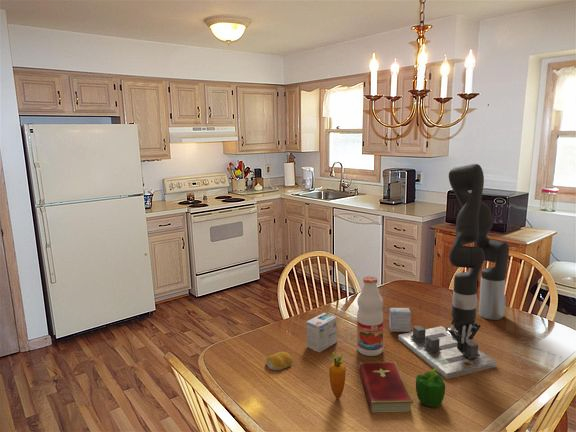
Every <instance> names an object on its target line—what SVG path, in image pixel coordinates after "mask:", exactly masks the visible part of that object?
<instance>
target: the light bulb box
mask: <svg viewBox="0 0 576 432" xmlns="http://www.w3.org/2000/svg"><path fill="white" fill-rule="evenodd" d="M305 323H306V347H307V348H308V349H311V350H312V351H315V352H316V353H321V352H323V351H325V350H326V349H328V348H330V347H331V346H333V345H335V344H336V343H337V342H338V333H337V332H338V325H337V316H335V315H332V314H329V313H327V312H322V313H321V314H318V315H316V316H315V317H312V318H311V319H310V318H309V319H308V320H306V321H305Z"/></svg>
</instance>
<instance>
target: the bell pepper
mask: <svg viewBox="0 0 576 432" xmlns="http://www.w3.org/2000/svg"><path fill="white" fill-rule="evenodd" d="M436 372H437V369H435V368H434V369H433V368H432V369H431V371H426V372H424V373H423V374H417V376H416V379H415V393H416V395H417V399H418V400H419V402H420V403H421V404H422V405H424V406H428V407H430V408H432V409H434V408H438V407H440V406H441V404H442V403H443V401H444V398H445V394H446V384H445V381H444V380H443V376H442V375H441V374H437V373H436Z"/></svg>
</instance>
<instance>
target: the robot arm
mask: <svg viewBox="0 0 576 432" xmlns="http://www.w3.org/2000/svg"><path fill="white" fill-rule="evenodd" d="M448 180H449V185H450V187H451V189H452V191H453V193H454V195H455V196H456V198H457V201H458V202H459V204H460V206H461V209H460V210H459V211H458V214H457V216H456V221H455V222H456V223H455V237H454V241H453V245H452V247H451V249H450V251H449V256H448V259H449V260H448V261H449V262H450V264H451V265H452V266H453V267H456V268H468V269H470V270H468V271H463V272H457V273H456V274H455V275H454V277H453V291H452V292H453V293H452V300H451V303H452V304H451V317H452V320H451V325H450V326H449V327H448V326H447V327H446V329H445V330H446V331H447V333H448V334H449V335H450V336H451V338H452V339H453V340H455V341H456V342H457V349H458V350H459V351H460V352H461V353H463V352H466V350H467V342H468V341H470V340H471V341H472V340H473V339H474V337H476V334H477V333H478V331H479V330H480V328H481V324H480V323H477V322H476V318H477V306H478V316H480V317H482V318H484V319H487V320H492V321H493V320H494V321H496V320H497V321H498V320H502V319H503V318H504V317H505V314H506V301H507V300H506V299H507V295H506V294H505V290H506V289H505V287H506V275H507V271H508V261H509V256H510V246H509V244H508V243H507V242H506V241H501V240H495V239H490V238H489V237H488V236H487V234H489V232H490V231H491V229H492V228H493V226H494V217H493V213H492V212H491V208H490V207H489V206H488V205H487V203H485V202H484V201H482V198H483V193H484V192H483V191H484V184H485V177H484V171H483V169H482V167H481V165H480V164H478V163H472V164H466V165H461V166H456V167H453V168H451V169H449V173H448ZM470 191H471V192H470ZM473 243H475V246H470V245H469V246H466V245H468V244H473ZM485 262H490V263H493V264H494V266H493V267H485V268H483V269H482V267H483V265H484V263H485ZM480 272H481V273H480ZM479 275H480V285H479V286H480V288H479V304H478V297H477V295H478V294H477V292H478V291H477V290H478V279H479ZM477 304H478V305H477Z"/></svg>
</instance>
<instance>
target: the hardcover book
mask: <svg viewBox="0 0 576 432" xmlns="http://www.w3.org/2000/svg"><path fill="white" fill-rule="evenodd" d="M358 369H359V373H360V378H361V381H362V384H363V388H364V392H365V395H366V400H367V402H368V407H369V410H370V413H371V414H373V413H403V412H405V413H407V412H410V413H411V411H412V404H413V403H414V401H413V399H412V396H411V394H410V392H409V390H408V388H407V386H406V385H407V384H406V383H405V381H404V379H403V377H402V374H401V372H400V370H399V367H398V365H397V362H396V361H368V362H367V361H364V362H362V361H361V362H359V366H358Z"/></svg>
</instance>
